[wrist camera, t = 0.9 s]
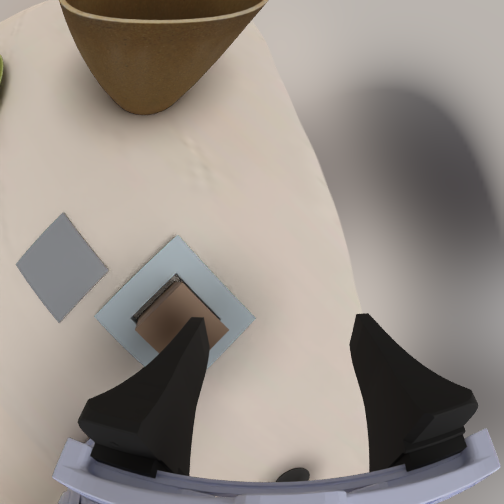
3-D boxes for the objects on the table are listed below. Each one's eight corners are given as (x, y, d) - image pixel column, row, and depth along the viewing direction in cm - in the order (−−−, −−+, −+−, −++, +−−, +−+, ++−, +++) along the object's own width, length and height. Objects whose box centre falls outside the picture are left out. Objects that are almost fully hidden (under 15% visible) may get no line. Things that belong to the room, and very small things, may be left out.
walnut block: (175, 350, 24) (184, 375, 17) (139, 315, 23) (134, 330, 16) (208, 316, 25) (229, 329, 19) (174, 281, 24) (182, 282, 18)
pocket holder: (177, 388, 23) (179, 396, 22) (98, 313, 22) (94, 316, 20) (249, 315, 26) (256, 318, 25) (175, 237, 25) (177, 234, 23)
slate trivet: (60, 322, 20) (58, 323, 20) (17, 264, 19) (15, 264, 19) (109, 270, 22) (108, 270, 22) (64, 213, 21) (63, 212, 21)
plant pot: (64, 142, 21) (14, 28, 6) (109, 42, 23) (114, -62, 8) (205, 159, 26) (270, 45, 11) (224, 57, 28) (276, -41, 13)
